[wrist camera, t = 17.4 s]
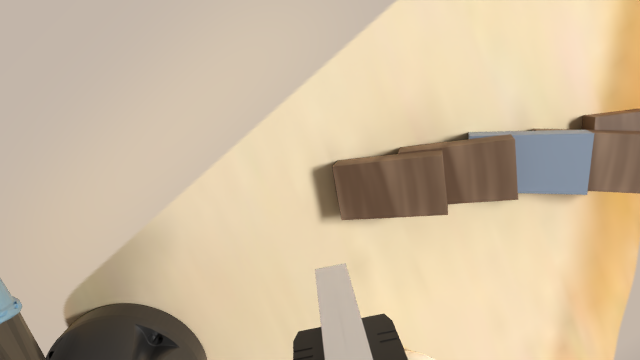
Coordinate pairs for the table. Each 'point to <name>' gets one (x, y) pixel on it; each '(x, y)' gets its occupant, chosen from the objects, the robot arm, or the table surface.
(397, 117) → the table surface
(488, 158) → the domino
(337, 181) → the domino
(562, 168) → the domino
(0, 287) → the robot arm
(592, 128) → the domino
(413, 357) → the lidded jar
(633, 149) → the domino
